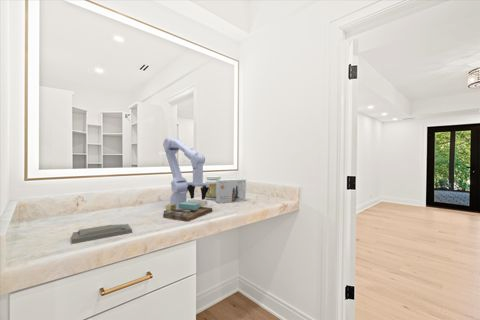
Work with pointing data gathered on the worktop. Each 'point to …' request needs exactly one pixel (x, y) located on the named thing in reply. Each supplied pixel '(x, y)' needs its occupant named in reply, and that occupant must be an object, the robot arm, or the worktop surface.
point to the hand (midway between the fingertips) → (197, 198)
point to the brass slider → (171, 207)
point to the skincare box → (230, 190)
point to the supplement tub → (212, 187)
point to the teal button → (189, 205)
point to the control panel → (186, 213)
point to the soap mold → (100, 232)
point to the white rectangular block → (201, 202)
